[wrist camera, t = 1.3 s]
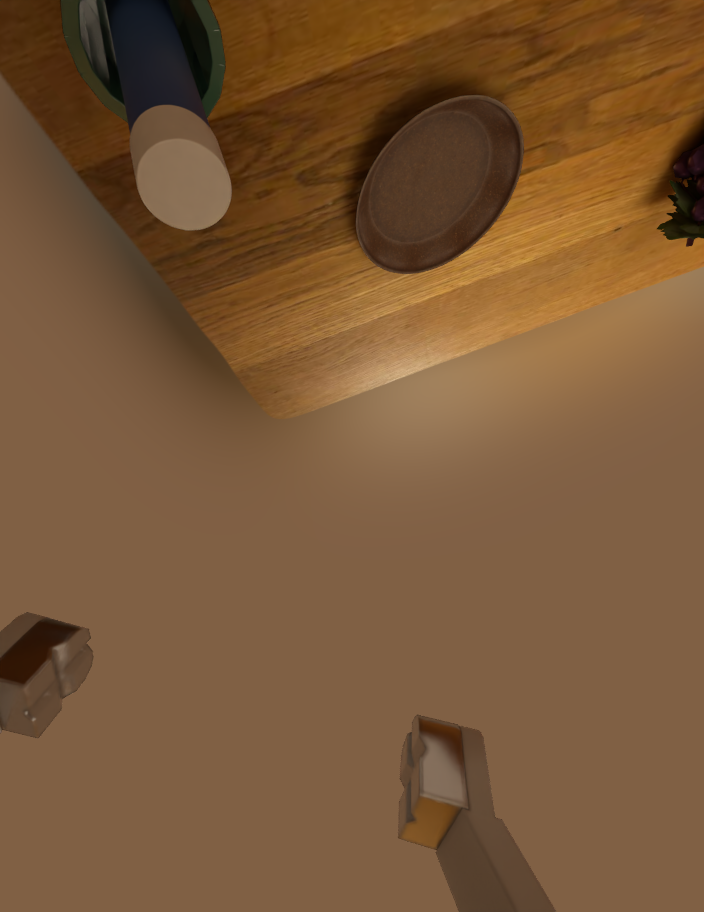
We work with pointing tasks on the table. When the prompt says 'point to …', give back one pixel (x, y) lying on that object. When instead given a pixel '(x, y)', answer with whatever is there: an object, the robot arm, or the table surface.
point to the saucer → (439, 184)
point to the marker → (166, 118)
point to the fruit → (687, 198)
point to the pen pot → (97, 56)
